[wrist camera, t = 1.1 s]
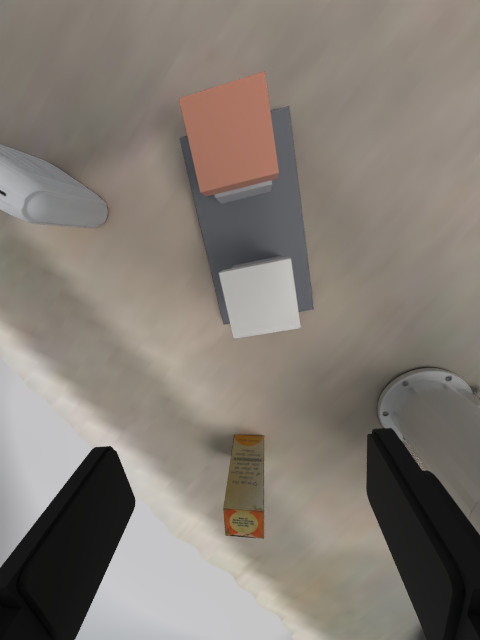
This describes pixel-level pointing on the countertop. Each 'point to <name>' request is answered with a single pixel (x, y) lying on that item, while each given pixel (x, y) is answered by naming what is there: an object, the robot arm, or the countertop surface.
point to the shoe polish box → (245, 488)
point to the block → (256, 219)
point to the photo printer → (46, 193)
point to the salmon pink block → (231, 135)
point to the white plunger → (261, 298)
